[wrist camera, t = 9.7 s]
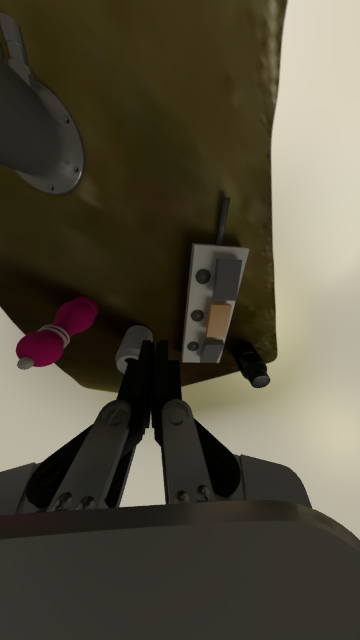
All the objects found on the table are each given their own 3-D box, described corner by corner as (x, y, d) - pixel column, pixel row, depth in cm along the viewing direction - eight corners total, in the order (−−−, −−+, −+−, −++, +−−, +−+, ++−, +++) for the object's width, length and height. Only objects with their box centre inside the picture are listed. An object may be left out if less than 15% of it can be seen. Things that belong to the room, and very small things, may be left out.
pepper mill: (83, 323, 42) (23, 389, 25) (64, 301, 38) (-23, 359, 21) (106, 314, 41) (60, 375, 24) (88, 289, 37) (17, 341, 20)
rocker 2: (209, 302, 36) (211, 304, 34) (228, 303, 36) (231, 305, 34) (205, 333, 39) (206, 337, 37) (223, 333, 39) (225, 337, 37)
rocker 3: (204, 338, 39) (205, 344, 38) (222, 339, 39) (224, 345, 38) (199, 356, 45) (200, 362, 43) (215, 356, 45) (216, 362, 44)
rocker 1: (216, 259, 31) (219, 258, 30) (238, 260, 32) (242, 259, 30) (212, 298, 34) (214, 299, 32) (232, 299, 34) (236, 300, 32)
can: (154, 325, 43) (149, 355, 33) (151, 346, 47) (146, 379, 37) (126, 322, 42) (112, 351, 32) (126, 343, 46) (113, 376, 36)
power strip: (196, 196, 30) (200, 191, 26) (252, 201, 30) (264, 197, 26) (181, 352, 49) (182, 363, 45) (215, 353, 50) (219, 364, 46)
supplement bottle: (244, 338, 47) (265, 368, 37) (257, 349, 50) (280, 380, 40) (227, 351, 50) (242, 383, 39) (240, 361, 52) (257, 394, 42)
